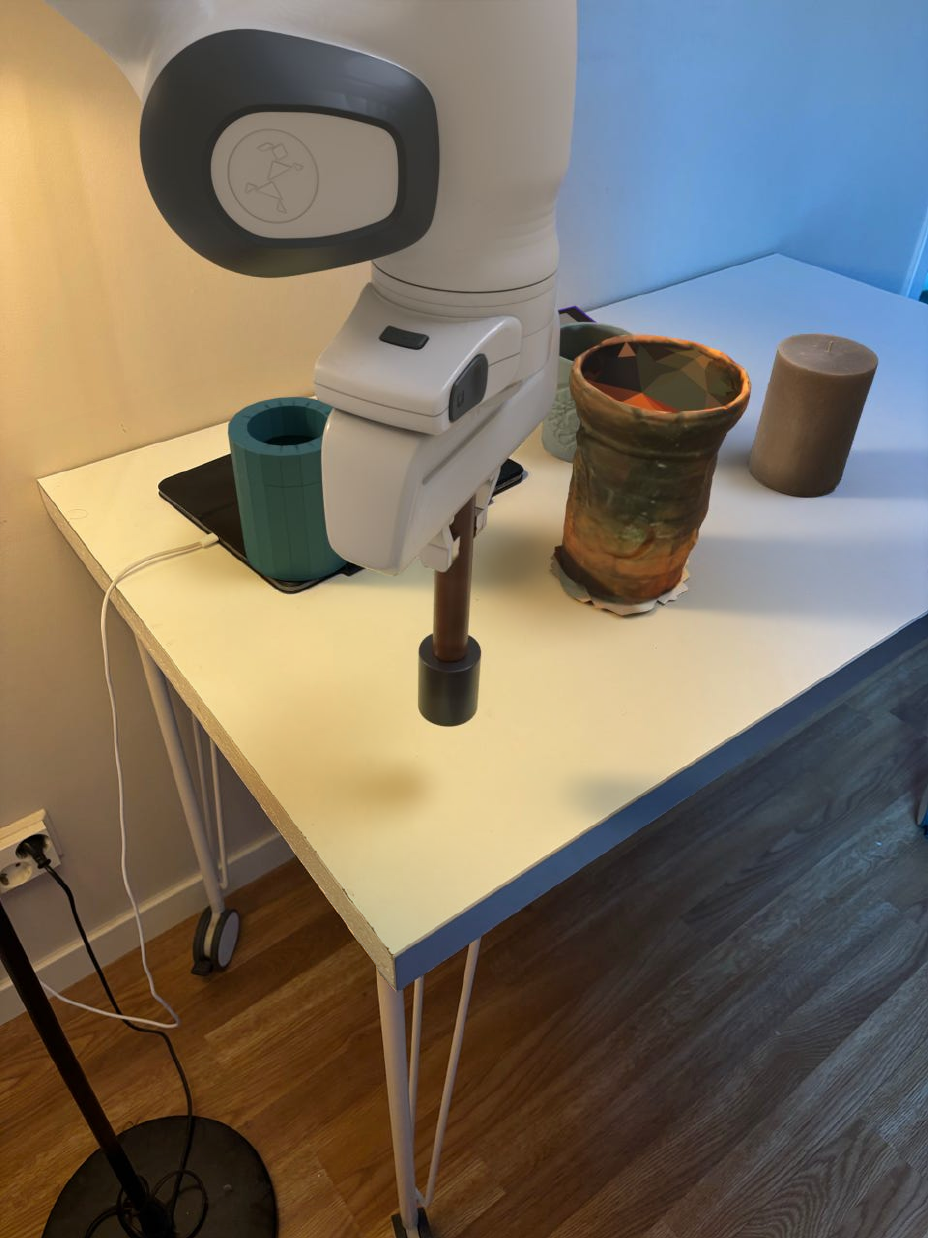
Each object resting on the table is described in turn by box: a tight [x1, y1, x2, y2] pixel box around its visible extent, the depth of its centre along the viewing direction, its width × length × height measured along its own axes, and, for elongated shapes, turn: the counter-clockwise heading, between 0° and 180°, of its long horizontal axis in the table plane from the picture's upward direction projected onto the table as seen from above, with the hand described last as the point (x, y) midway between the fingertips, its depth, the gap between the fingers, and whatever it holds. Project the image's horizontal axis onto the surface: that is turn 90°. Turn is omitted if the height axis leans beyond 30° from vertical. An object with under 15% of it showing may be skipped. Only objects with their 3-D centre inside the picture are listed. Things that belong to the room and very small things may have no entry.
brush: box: [417, 493, 482, 728], centre depth 58 cm, size 4×4×18 cm
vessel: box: [548, 334, 752, 616], centre depth 82 cm, size 14×14×20 cm
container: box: [227, 396, 349, 582], centre depth 85 cm, size 10×10×13 cm
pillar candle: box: [747, 332, 879, 498], centre depth 97 cm, size 10×10×15 cm
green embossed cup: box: [541, 321, 635, 464], centre depth 101 cm, size 10×10×12 cm
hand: (453, 547), depth 55 cm, fingers closed on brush, 2 cm apart
